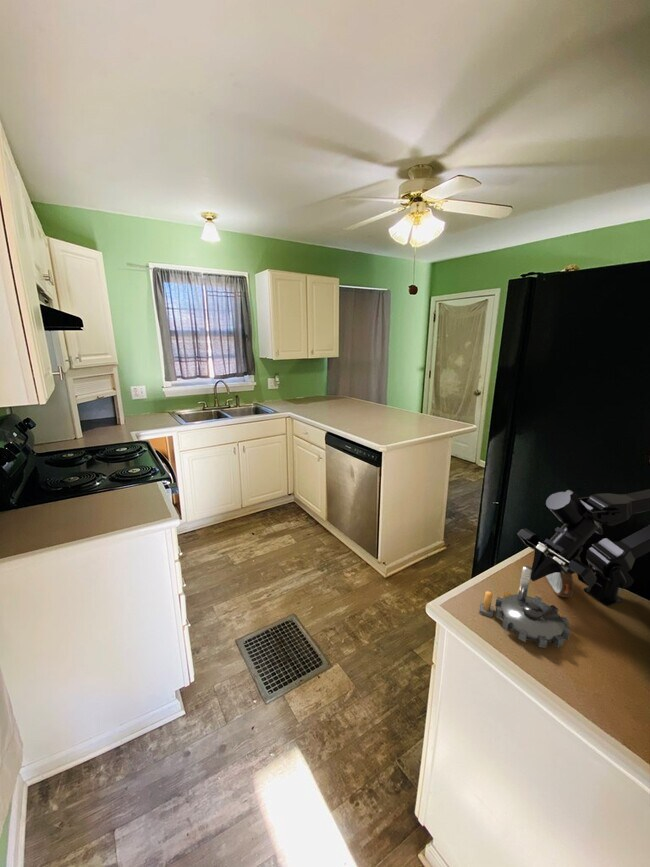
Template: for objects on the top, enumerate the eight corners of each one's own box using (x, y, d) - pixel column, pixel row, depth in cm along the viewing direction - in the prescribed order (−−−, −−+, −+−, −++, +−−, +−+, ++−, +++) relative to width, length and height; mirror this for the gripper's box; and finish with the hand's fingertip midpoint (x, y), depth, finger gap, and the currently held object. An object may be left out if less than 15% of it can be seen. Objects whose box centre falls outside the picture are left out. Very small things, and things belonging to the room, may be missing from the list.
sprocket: (527, 592, 94) (535, 557, 91) (585, 638, 80) (596, 598, 77) (480, 604, 89) (487, 568, 87) (532, 655, 75) (542, 614, 73)
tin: (571, 604, 92) (578, 576, 90) (557, 602, 93) (564, 574, 91) (548, 568, 107) (554, 544, 104) (536, 567, 107) (542, 542, 105)
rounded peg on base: (492, 609, 90) (496, 591, 88) (492, 617, 87) (495, 599, 86) (479, 605, 91) (483, 587, 90) (479, 612, 89) (482, 595, 87)
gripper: (622, 573, 85) (578, 621, 84) (552, 532, 102) (515, 572, 101) (607, 549, 80) (560, 599, 80) (536, 510, 97) (497, 552, 97)
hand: (531, 579), depth 90 cm, fingers closed
